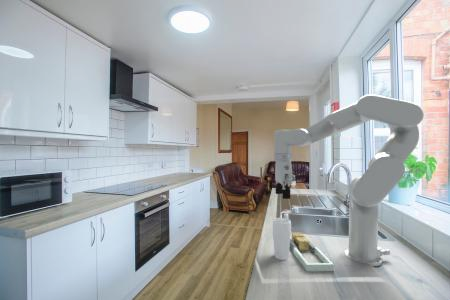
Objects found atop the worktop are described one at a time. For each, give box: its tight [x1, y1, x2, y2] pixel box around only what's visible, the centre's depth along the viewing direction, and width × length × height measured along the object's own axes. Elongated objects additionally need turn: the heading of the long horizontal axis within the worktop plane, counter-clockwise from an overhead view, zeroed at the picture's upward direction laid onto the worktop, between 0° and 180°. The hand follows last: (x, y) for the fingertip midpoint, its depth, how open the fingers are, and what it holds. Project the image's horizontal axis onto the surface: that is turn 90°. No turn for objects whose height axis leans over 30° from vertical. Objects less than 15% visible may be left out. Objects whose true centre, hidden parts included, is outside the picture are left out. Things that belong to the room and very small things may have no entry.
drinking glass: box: [272, 217, 292, 261], centre depth 86 cm, size 7×7×15 cm
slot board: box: [289, 235, 316, 254], centre depth 95 cm, size 8×12×3 cm
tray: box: [293, 246, 335, 272], centre depth 83 cm, size 9×13×3 cm
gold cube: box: [291, 232, 305, 245], centre depth 98 cm, size 4×4×4 cm
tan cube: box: [296, 236, 310, 251], centre depth 93 cm, size 4×4×4 cm
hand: (282, 196), depth 101 cm, fingers open, 9 cm apart
